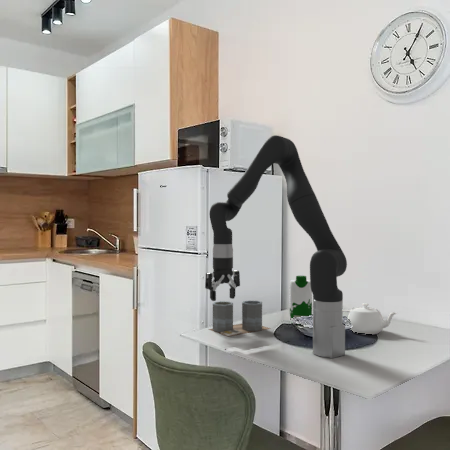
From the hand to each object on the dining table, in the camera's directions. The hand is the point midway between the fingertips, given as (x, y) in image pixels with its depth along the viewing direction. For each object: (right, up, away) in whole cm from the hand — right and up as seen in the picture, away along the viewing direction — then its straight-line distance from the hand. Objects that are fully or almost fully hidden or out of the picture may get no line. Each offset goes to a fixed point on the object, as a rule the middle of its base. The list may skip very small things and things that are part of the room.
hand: (222, 299), depth 176 cm
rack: (+6, -13, +2) cm, 14 cm away
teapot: (+54, -13, +2) cm, 56 cm away
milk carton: (+31, -13, +12) cm, 35 cm away
